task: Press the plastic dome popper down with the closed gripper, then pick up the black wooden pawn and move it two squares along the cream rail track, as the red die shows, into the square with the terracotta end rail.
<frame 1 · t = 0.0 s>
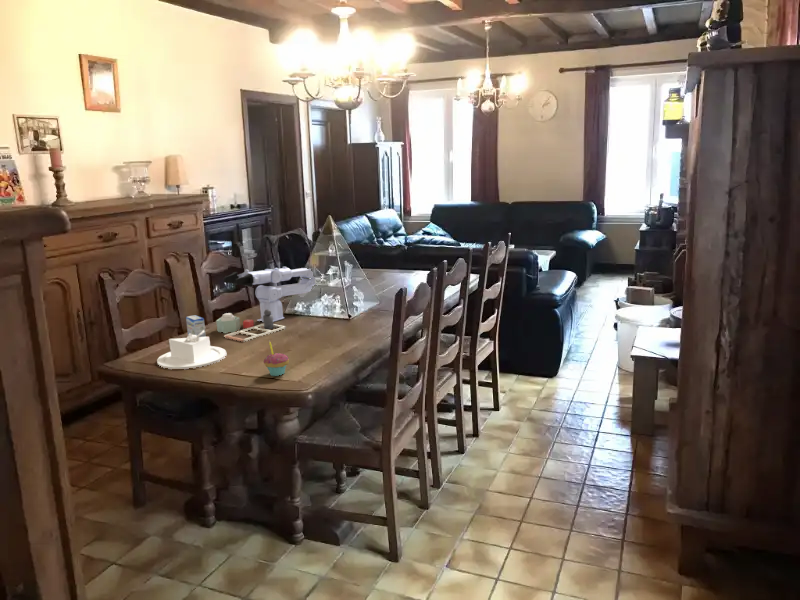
hand: (230, 280, 278), 22 cm above the table, tool horizontal, fingers open, 7 cm apart
cupcake: (277, 374, 227), on the table
dome base: (229, 330, 284), on the table
pawn: (269, 329, 283), resting in game track
medicine box: (197, 337, 275), on the table
dome: (227, 319, 283), point 5 cm above the table, slide at 0.0 cm
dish: (192, 359, 248), on the table
red die: (248, 327, 286), on the table
game track: (255, 333, 278), on the table
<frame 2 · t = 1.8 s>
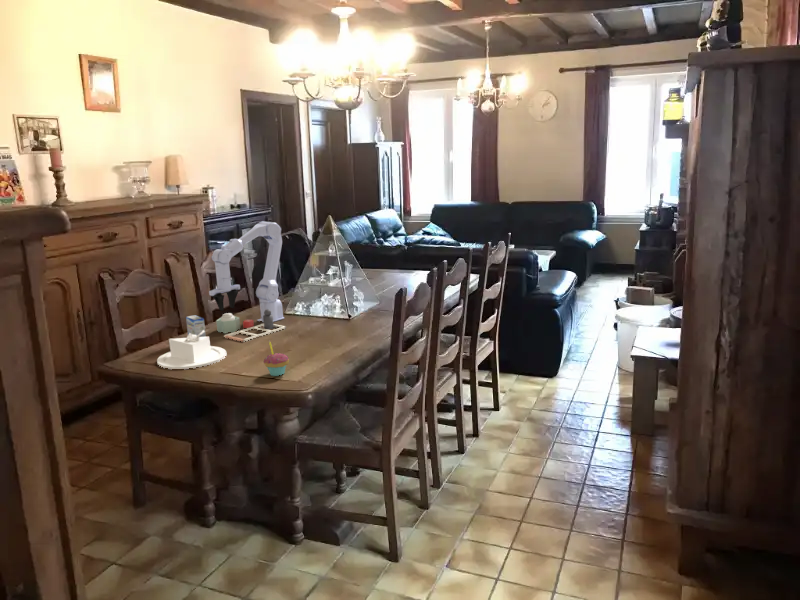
hand: (226, 308, 282), 9 cm above the table, tool pointing down, fingers open, 5 cm apart
nothing on the table moved.
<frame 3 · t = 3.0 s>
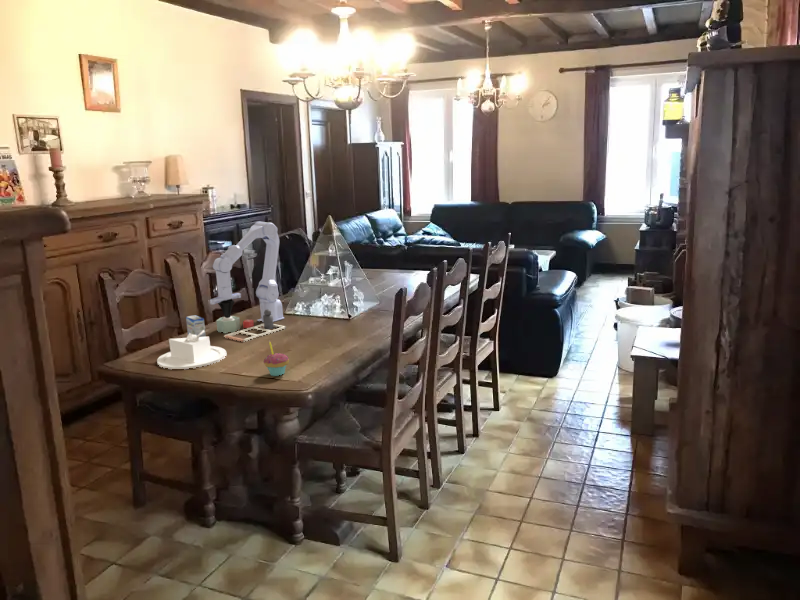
hand: (227, 317, 283), 6 cm above the table, tool pointing down, fingers closed, pressing on dome
dome: (228, 322, 283), point 4 cm above the table, slide at 1.3 cm, touching gripper
everything else where it was.
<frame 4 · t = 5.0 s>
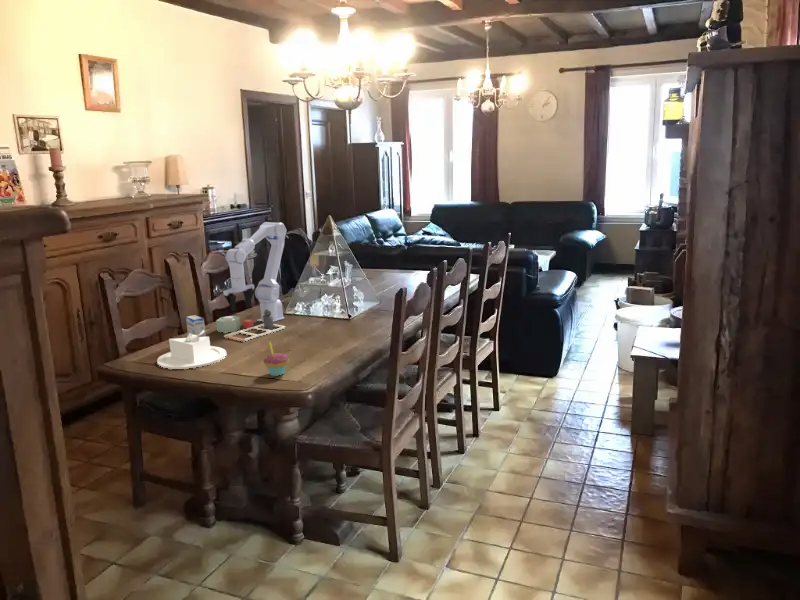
hand: (241, 308, 282), 9 cm above the table, tool pointing down, fingers open, 7 cm apart
dome: (228, 322, 283), point 4 cm above the table, slide at 1.3 cm
everything else where it was.
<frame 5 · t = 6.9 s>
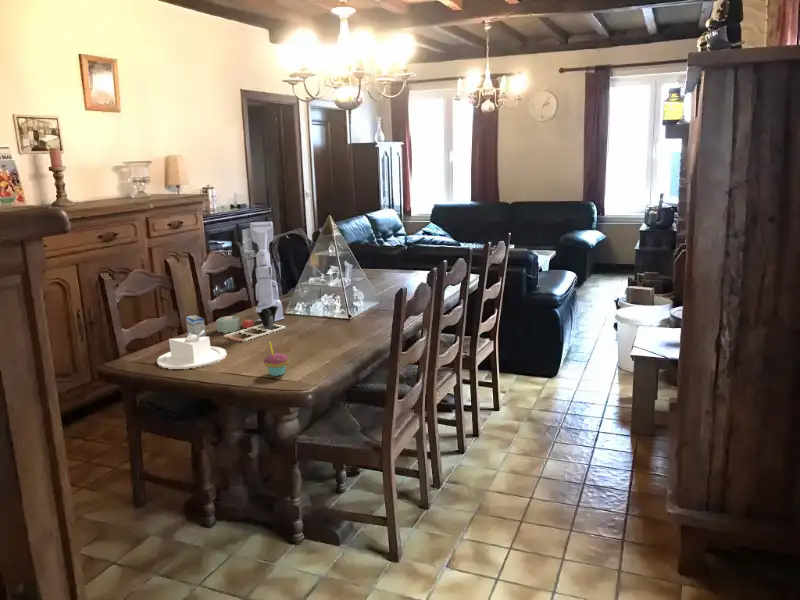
hand: (268, 324, 283), 2 cm above the table, tool pointing down, fingers closed on pawn, 4 cm apart
pawn: (269, 329, 283), resting in game track, touching gripper
everything else where it was.
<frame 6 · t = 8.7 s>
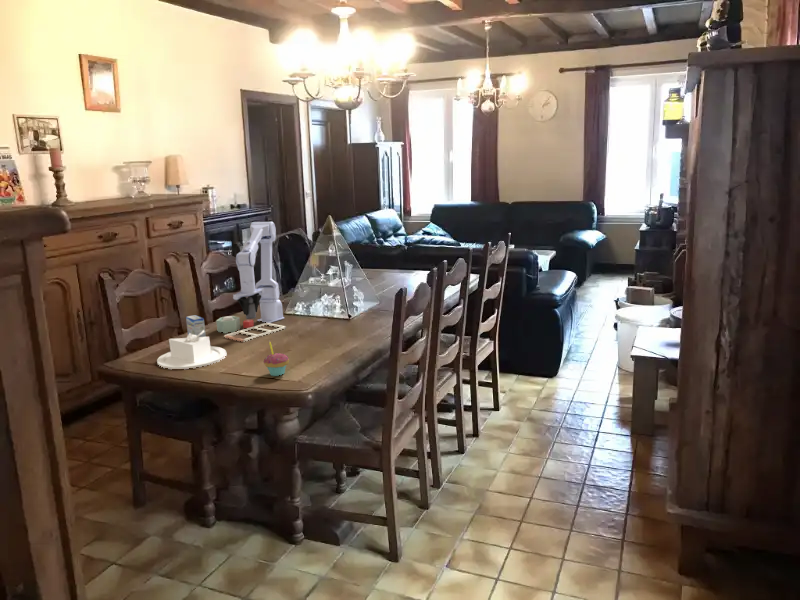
hand: (250, 313, 274), 9 cm above the table, tool pointing down, fingers closed on pawn, 4 cm apart
pawn: (251, 317, 275), point 7 cm above the table, touching gripper
everything else where it was.
when the fingers open (3 cm above the table, at t = 10.6 s): pawn drops 1 cm, resting in game track.
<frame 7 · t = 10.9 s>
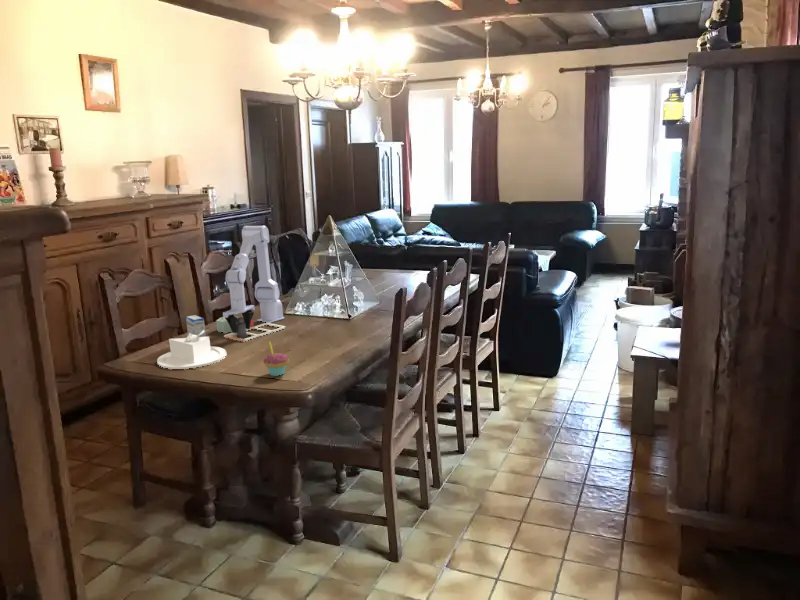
hand: (241, 330, 271), 3 cm above the table, tool pointing down, fingers open, 6 cm apart
pawn: (241, 337, 272), resting in game track
everything else where it was.
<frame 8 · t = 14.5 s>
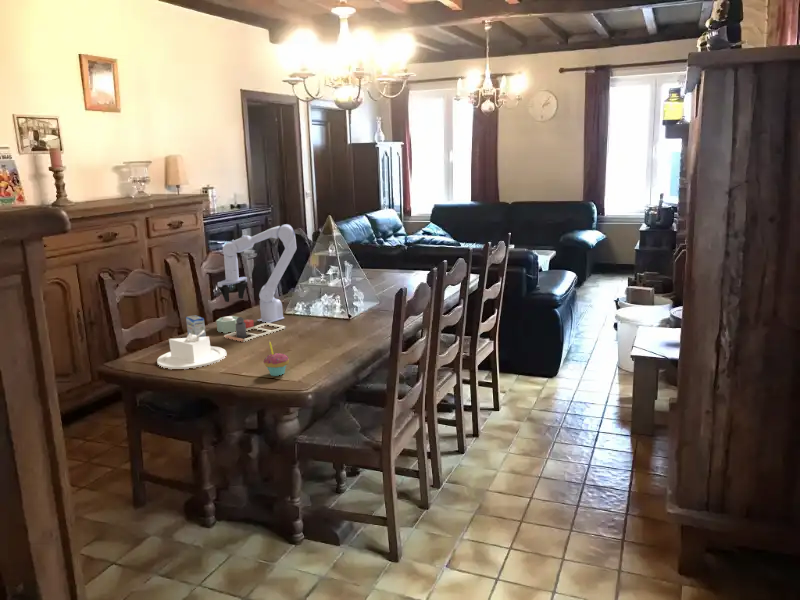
hand: (234, 300, 293), 10 cm above the table, tool pointing down, fingers open, 7 cm apart
nothing on the table moved.
at the end: dome slide at 1.3 cm; pawn 0.1 cm from the target spot, resting in game track; pawn tilted 0° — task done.
